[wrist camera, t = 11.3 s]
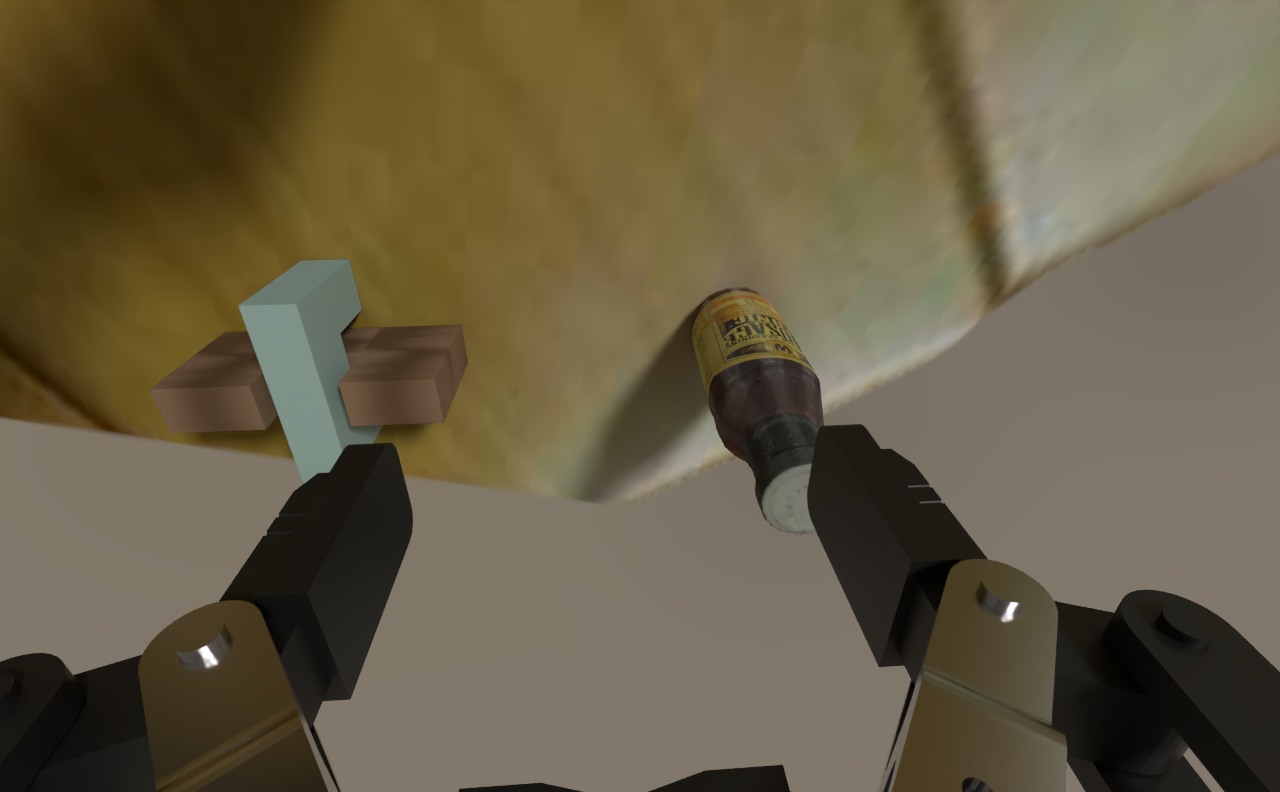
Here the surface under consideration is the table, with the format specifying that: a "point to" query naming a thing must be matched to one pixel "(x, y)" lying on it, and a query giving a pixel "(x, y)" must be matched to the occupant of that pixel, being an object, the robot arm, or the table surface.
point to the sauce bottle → (761, 399)
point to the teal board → (308, 358)
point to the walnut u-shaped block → (371, 389)
